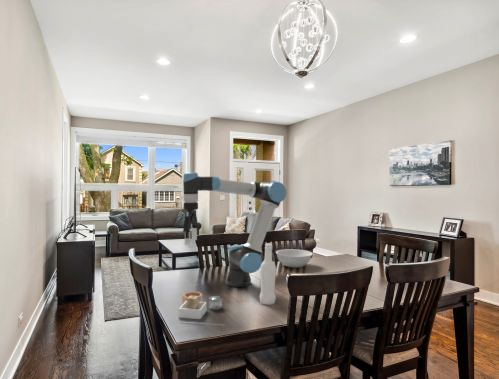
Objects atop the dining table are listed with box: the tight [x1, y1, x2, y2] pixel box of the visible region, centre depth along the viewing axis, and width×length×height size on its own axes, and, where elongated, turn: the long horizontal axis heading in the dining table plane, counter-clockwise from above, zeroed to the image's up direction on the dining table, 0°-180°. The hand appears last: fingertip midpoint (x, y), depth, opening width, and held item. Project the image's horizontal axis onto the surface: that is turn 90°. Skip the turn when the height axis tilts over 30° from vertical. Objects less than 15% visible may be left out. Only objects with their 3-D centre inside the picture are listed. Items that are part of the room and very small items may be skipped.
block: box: [187, 295, 199, 309], centre depth 153 cm, size 4×4×8 cm
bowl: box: [275, 248, 314, 269], centre depth 250 cm, size 27×27×10 cm
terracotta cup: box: [181, 291, 203, 306], centre depth 165 cm, size 9×9×6 cm
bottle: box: [259, 242, 277, 306], centre depth 171 cm, size 8×8×30 cm
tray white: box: [178, 301, 208, 320], centre depth 153 cm, size 10×10×5 cm
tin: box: [208, 295, 223, 311], centre depth 161 cm, size 6×6×5 cm
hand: (191, 242), depth 178 cm, fingers open, 13 cm apart
